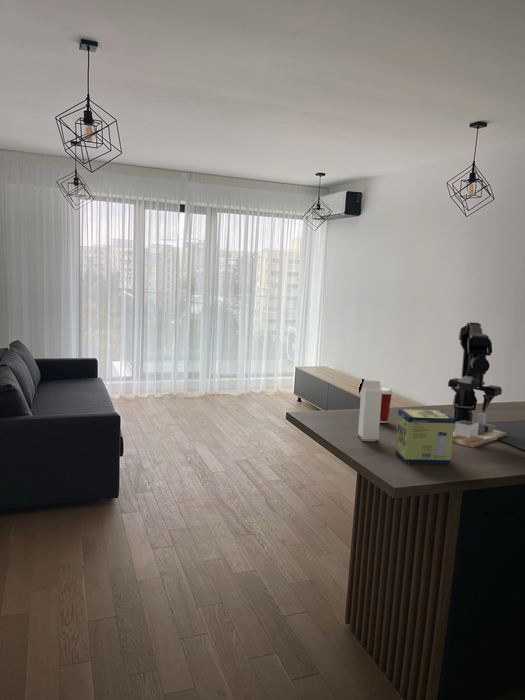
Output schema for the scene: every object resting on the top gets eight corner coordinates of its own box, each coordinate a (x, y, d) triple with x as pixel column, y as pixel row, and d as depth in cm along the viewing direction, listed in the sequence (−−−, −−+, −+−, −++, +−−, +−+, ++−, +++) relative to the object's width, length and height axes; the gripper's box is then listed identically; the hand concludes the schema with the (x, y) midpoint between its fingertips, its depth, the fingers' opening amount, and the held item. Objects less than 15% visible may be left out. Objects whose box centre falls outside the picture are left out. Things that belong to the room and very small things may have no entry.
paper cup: (390, 420, 224) (393, 388, 222) (389, 425, 217) (391, 391, 215) (372, 418, 227) (374, 386, 225) (369, 422, 220) (372, 389, 218)
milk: (357, 437, 199) (361, 378, 196) (373, 437, 199) (377, 379, 196) (362, 442, 193) (366, 382, 190) (378, 442, 193) (382, 382, 190)
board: (440, 438, 201) (440, 433, 201) (474, 428, 218) (474, 423, 218) (472, 447, 192) (473, 441, 191) (505, 436, 209) (506, 431, 208)
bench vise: (467, 432, 206) (469, 414, 205) (484, 427, 215) (486, 410, 214) (479, 435, 203) (480, 417, 202) (495, 430, 212) (497, 412, 211)
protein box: (394, 453, 181) (397, 408, 179) (438, 454, 182) (442, 410, 180) (404, 464, 171) (408, 416, 169) (451, 464, 172) (455, 418, 170)
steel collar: (454, 435, 199) (455, 422, 198) (462, 432, 203) (463, 420, 202) (469, 439, 195) (470, 426, 194) (477, 436, 199) (478, 423, 198)
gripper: (442, 366, 202) (438, 406, 204) (489, 375, 188) (485, 418, 190) (457, 363, 209) (453, 402, 211) (504, 372, 195) (500, 413, 197)
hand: (472, 408), depth 202 cm, fingers open, 9 cm apart
